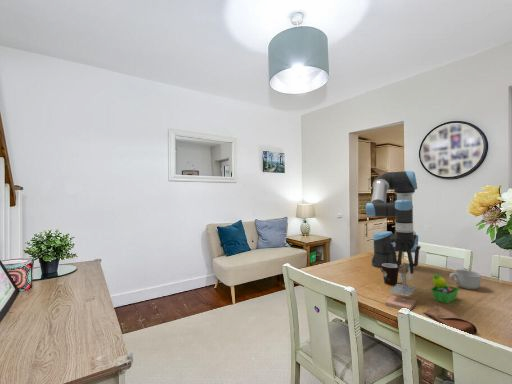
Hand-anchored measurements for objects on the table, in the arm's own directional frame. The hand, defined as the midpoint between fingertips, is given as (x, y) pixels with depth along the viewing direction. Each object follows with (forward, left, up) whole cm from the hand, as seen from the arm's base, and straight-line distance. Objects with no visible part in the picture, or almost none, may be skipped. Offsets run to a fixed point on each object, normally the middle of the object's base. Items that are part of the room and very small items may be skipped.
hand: (405, 278), depth 126 cm
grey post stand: (+3, 0, -4) cm, 5 cm away
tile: (+6, 0, -8) cm, 10 cm away
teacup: (-32, +20, -9) cm, 39 cm away
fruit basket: (-8, +14, -9) cm, 19 cm away
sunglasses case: (+17, +18, -10) cm, 26 cm away
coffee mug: (-16, -12, -9) cm, 22 cm away
